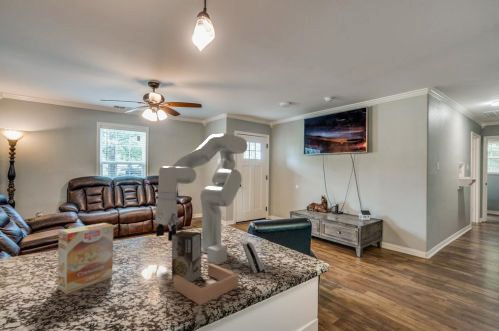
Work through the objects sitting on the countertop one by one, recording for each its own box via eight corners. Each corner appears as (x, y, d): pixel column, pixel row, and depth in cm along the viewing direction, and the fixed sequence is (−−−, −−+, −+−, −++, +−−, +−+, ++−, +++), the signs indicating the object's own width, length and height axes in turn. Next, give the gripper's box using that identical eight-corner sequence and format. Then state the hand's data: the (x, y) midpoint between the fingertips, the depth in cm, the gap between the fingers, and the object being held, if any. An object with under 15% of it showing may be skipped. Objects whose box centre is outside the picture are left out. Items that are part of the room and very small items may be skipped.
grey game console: (266, 272, 96) (258, 248, 96) (255, 277, 95) (247, 253, 95) (257, 257, 113) (250, 236, 112) (247, 261, 112) (240, 240, 111)
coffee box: (201, 275, 93) (202, 232, 94) (192, 282, 87) (192, 236, 88) (181, 271, 96) (181, 230, 97) (170, 278, 90) (171, 234, 90)
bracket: (173, 288, 83) (173, 276, 83) (211, 273, 95) (211, 263, 95) (199, 305, 73) (200, 291, 73) (238, 286, 84) (238, 274, 84)
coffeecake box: (66, 294, 78) (67, 233, 78) (56, 288, 82) (57, 230, 82) (113, 277, 91) (114, 224, 91) (103, 272, 95) (104, 222, 95)
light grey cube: (216, 265, 103) (216, 250, 104) (207, 261, 107) (207, 247, 107) (226, 261, 108) (226, 247, 108) (217, 257, 112) (217, 244, 112)
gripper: (149, 195, 105) (147, 235, 104) (170, 198, 93) (168, 244, 92) (165, 194, 110) (163, 232, 110) (187, 197, 99) (185, 240, 98)
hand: (165, 237), depth 101 cm, fingers open, 9 cm apart
